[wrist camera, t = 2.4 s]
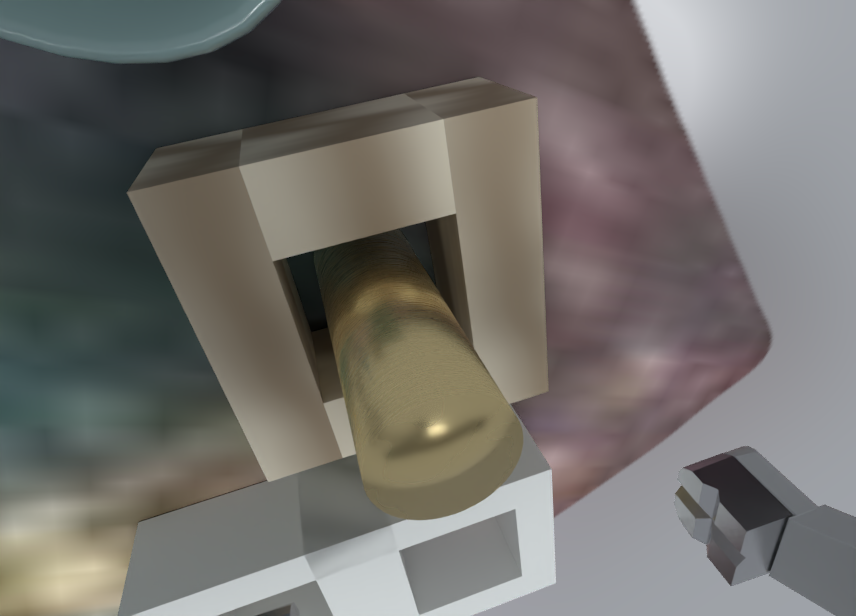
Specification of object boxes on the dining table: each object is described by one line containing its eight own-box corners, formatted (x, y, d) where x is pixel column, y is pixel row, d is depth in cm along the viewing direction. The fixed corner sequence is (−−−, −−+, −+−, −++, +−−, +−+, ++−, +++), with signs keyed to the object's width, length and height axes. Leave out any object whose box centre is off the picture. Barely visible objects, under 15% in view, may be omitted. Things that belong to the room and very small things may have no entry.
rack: (213, 623, 32) (206, 717, 27) (138, 522, 26) (116, 621, 22) (520, 513, 35) (555, 583, 30) (509, 402, 29) (551, 468, 25)
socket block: (265, 401, 25) (268, 482, 21) (156, 148, 18) (126, 192, 14) (502, 329, 27) (548, 391, 22) (478, 76, 20) (537, 97, 16)
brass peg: (327, 307, 23) (381, 539, 13) (301, 224, 21) (343, 428, 11) (413, 283, 24) (527, 488, 14) (397, 200, 22) (518, 373, 12)
